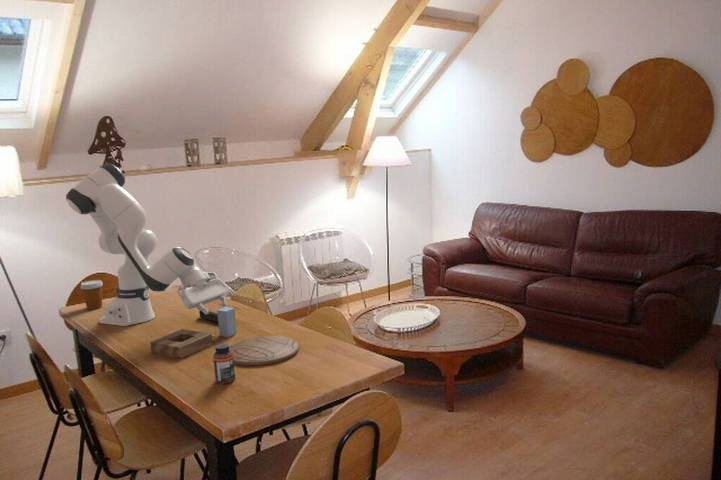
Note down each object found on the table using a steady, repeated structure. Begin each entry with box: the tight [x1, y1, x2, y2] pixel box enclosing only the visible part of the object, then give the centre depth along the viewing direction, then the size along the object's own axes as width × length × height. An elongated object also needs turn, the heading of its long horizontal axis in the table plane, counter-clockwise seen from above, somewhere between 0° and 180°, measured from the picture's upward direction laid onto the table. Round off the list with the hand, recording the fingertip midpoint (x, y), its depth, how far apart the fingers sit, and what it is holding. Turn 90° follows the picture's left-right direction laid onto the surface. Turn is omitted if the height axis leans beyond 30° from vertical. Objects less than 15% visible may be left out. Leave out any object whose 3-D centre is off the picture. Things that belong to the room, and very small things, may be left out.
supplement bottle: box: [212, 343, 236, 385], centre depth 181 cm, size 6×6×11 cm
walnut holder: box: [149, 328, 214, 360], centre depth 211 cm, size 15×15×4 cm
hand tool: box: [198, 310, 218, 323], centre depth 242 cm, size 19×4×5 cm, turn 48°
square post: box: [216, 306, 238, 338], centre depth 224 cm, size 4×4×10 cm
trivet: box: [229, 335, 300, 367], centre depth 204 cm, size 25×25×2 cm
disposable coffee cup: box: [79, 279, 104, 311], centre depth 270 cm, size 10×10×12 cm
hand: (217, 309), depth 224 cm, fingers open, 8 cm apart
